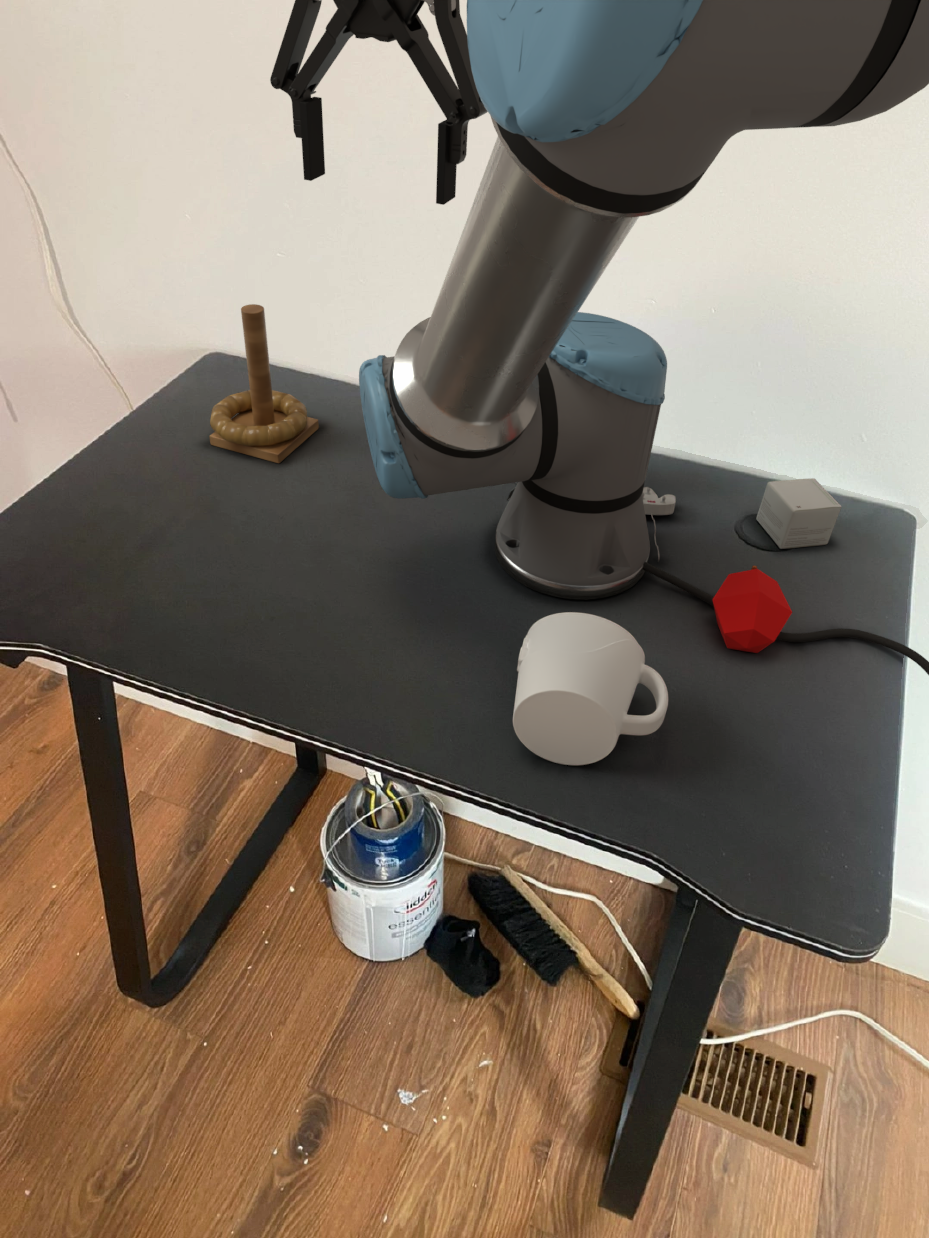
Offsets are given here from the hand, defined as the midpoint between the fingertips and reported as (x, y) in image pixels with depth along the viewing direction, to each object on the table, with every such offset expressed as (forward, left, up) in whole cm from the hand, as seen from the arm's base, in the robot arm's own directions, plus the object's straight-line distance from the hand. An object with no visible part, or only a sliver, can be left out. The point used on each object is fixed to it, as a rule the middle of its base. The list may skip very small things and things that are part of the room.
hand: (378, 189), depth 86 cm
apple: (-43, +13, -29) cm, 53 cm away
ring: (+15, +2, -26) cm, 30 cm away
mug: (-33, +30, -29) cm, 53 cm away
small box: (-45, -6, -29) cm, 54 cm away
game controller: (-31, 0, -29) cm, 42 cm away
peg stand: (+14, +2, -29) cm, 32 cm away
